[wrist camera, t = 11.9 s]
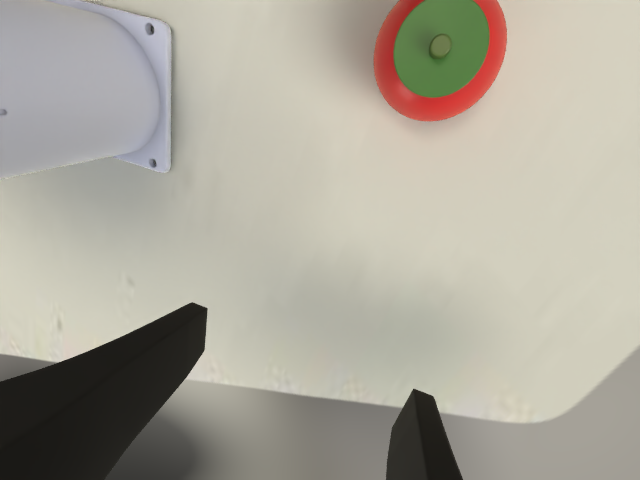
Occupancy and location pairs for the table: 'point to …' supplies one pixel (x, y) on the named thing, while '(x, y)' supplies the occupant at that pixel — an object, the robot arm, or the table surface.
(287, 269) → the table surface
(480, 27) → the tomato
